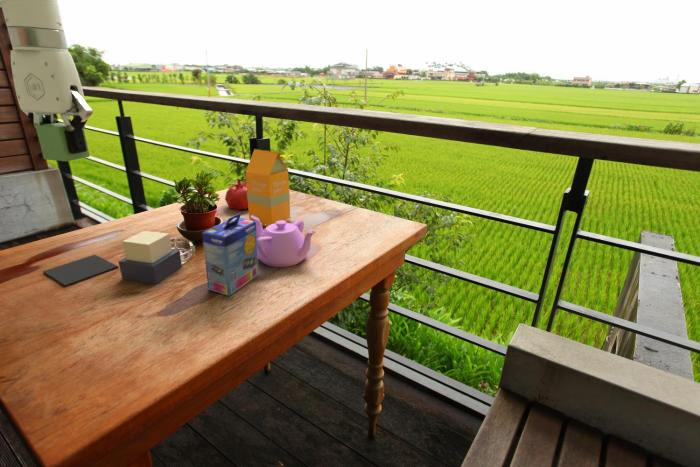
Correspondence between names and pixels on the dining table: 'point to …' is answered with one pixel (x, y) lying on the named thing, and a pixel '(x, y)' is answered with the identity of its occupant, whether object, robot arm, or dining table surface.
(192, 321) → the dining table surface
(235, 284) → the ink cartridge box
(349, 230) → the dining table surface
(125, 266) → the navy block
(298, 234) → the teapot
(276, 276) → the dining table surface
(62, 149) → the green block
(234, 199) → the pomegranate
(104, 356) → the dining table surface
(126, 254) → the cream block
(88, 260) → the mat
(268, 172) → the orange juice
